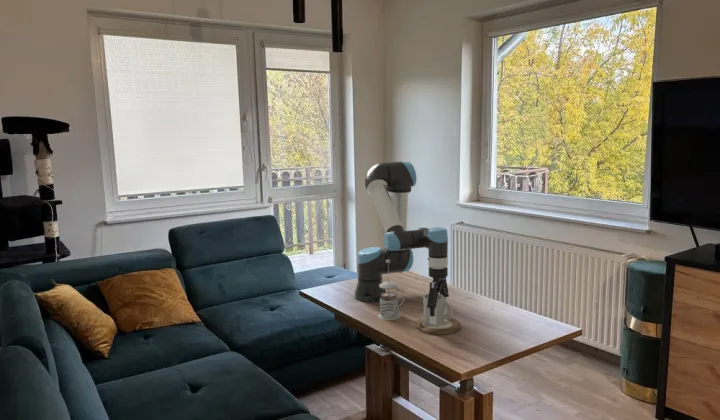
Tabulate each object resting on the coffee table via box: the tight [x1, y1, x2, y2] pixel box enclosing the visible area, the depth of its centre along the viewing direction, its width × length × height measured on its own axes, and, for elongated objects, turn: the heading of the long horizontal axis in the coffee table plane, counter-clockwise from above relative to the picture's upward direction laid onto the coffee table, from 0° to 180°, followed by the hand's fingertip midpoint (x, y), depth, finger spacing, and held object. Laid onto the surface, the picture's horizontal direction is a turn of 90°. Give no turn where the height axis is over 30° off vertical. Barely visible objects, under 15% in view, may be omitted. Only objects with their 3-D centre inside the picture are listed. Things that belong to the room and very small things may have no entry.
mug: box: [423, 293, 453, 326], centre depth 211 cm, size 12×8×11 cm
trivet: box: [415, 316, 462, 336], centre depth 212 cm, size 18×18×3 cm
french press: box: [377, 260, 405, 321], centre depth 223 cm, size 10×12×25 cm
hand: (438, 317), depth 211 cm, fingers open, 13 cm apart
